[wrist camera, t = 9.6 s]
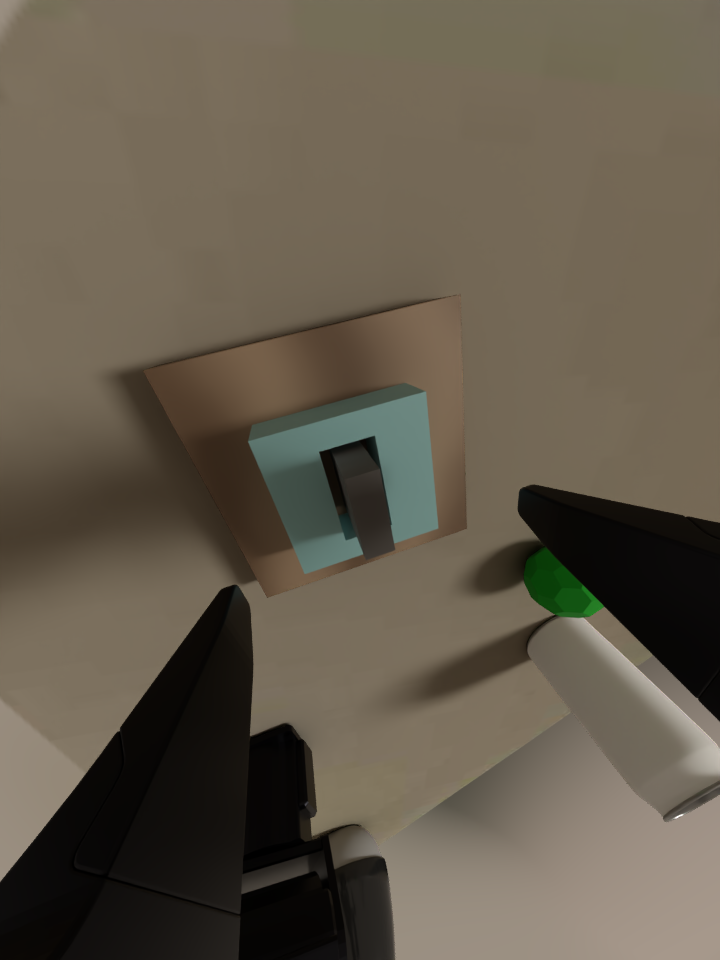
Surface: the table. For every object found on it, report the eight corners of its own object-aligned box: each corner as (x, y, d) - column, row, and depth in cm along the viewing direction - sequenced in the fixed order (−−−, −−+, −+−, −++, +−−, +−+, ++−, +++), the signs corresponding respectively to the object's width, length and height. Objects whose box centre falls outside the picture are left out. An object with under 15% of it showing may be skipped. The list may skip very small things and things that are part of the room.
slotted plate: (301, 546, 15) (304, 574, 13) (252, 424, 12) (248, 441, 10) (420, 506, 16) (438, 528, 14) (405, 382, 13) (425, 391, 11)
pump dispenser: (391, 811, 41) (445, 1037, 28) (350, 847, 44) (383, 1070, 31) (330, 818, 37) (361, 1091, 23) (289, 857, 39) (295, 1124, 26)
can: (514, 659, 30) (641, 835, 19) (539, 615, 27) (702, 792, 17) (563, 649, 32) (704, 806, 21) (591, 607, 29) (768, 762, 18)
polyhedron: (507, 548, 22) (561, 600, 18) (566, 521, 22) (633, 565, 18) (512, 590, 24) (560, 643, 20) (564, 564, 24) (623, 612, 20)
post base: (267, 577, 17) (264, 671, 13) (158, 365, 11) (73, 392, 7) (453, 514, 19) (513, 578, 14) (441, 297, 13) (539, 279, 8)
